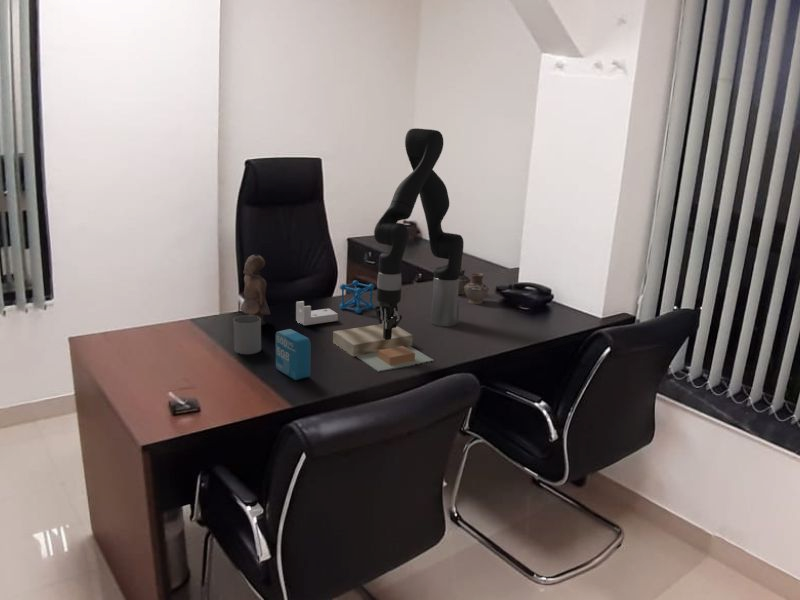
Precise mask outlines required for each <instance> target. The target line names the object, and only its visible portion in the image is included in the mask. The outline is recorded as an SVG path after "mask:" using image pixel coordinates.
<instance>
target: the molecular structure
mask: <svg viewBox="0 0 800 600" xmlns="http://www.w3.org/2000/svg"><path fill="white" fill-rule="evenodd" d="M351 286H353V287H354V288H353V287H351ZM357 286H362V287H364V288H361V287H357ZM339 289H340V290H341V303H340V304H339V309H340V310H345V309H348V310H351V311H355V313H356V314H361V313H362V311H364V310H367V309H369V310H372V309H374V308H375V306H374V304H373V290H374V289H375V285H374V284H373V283H369V284H363V283H360V282H359V281H358V280H356V279H354V280H353V281H352V283H349V284H344V283H341V284H340V285H339ZM345 291H346V292H347V293H349V294H350V295H352V296H353V297H352V298H351V299H350V300H348V301H347V302H345V303H344V300H345V299H344V298H345V296H344V295H345ZM352 291H353V292H352ZM368 291H369V302H367V301H366V300H365V299H363V298H361V296H362V295H364V293H367V292H368ZM351 305H354V306H356V308H353V307H350V306H351ZM360 305H361V306H364V307H360Z"/></svg>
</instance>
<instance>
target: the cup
mask: <svg viewBox="0 0 800 600" xmlns="http://www.w3.org/2000/svg"><path fill="white" fill-rule="evenodd" d="M232 321H233V347H234V348H233V351H234V353H236V354H239V353H240V355H253V354H257V353H259V352H261V351H262V325H261V319H260V318H259V317H257V316H252V315H249V314H246V315H239V316H236V317H234V318H233V320H232Z"/></svg>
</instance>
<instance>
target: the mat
mask: <svg viewBox="0 0 800 600" xmlns="http://www.w3.org/2000/svg"><path fill="white" fill-rule="evenodd" d="M406 348H407V349H409V350H411V351H412V352H414V353H415V361H409V362H404V363H399V364H394V365H389V364H387V363H385V362H384V361H382V360H381V359H379V358H378V352H375V353H370V354H364V355H358V356H356V358H357V359H359V360H360V361H362V362H363V363H364V364H365V365H367V366H370V367H371V368H372V369H373V370H375V371H376V372H378V373H380V371H381V372H384V371H390V370H395V369H400V368H406V367H410V366H411V365H412V366H416V365H415V364H417V365H421V364H420V363H422V364H427V363H432V362H434V361H435V360H434V359H433V358H431V357H429V356H427V355H426V354H424V353H422V352H421V351H420V350H417V349H416V348H414V347H413V346H412V347H411V346H409V347H406ZM431 361H432V362H431ZM426 362H427V363H426ZM405 366H406V367H405Z"/></svg>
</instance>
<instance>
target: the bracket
mask: <svg viewBox="0 0 800 600" xmlns="http://www.w3.org/2000/svg"><path fill="white" fill-rule="evenodd" d="M338 316H339V315H338V313H337V312H336V311H334V310H332V309H331V308H323V309H322V308H321V309H316V310H312V306H311V305H305V301H304V300H301V301H296V302H295V321H297V323H298V324H299V323H300V324H299V325H303V326H310V325H317V324H324V323H331V322H337V321H338V320H339V319H338Z"/></svg>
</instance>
